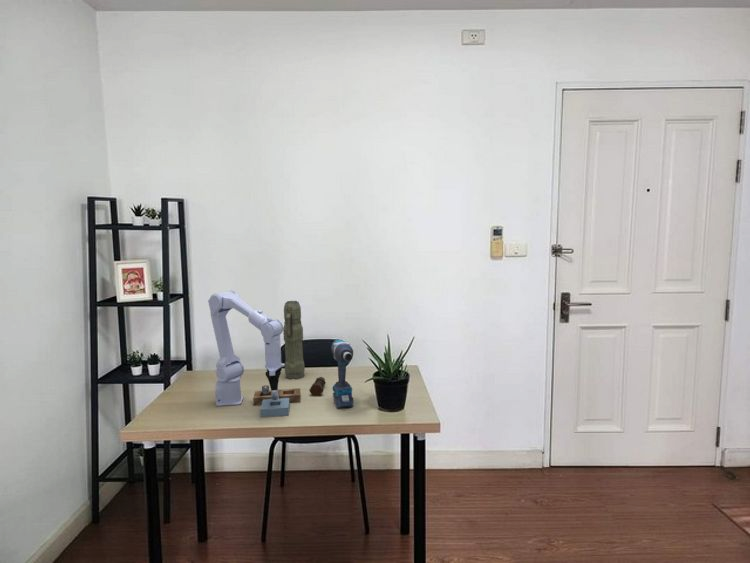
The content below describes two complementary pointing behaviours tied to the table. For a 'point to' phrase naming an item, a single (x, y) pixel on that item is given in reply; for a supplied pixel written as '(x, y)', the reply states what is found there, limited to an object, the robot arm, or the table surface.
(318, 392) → the bolt
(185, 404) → the table surface
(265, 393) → the black pin
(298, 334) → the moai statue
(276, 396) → the steel pin
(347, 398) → the impact wrench
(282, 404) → the socket block
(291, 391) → the rack
